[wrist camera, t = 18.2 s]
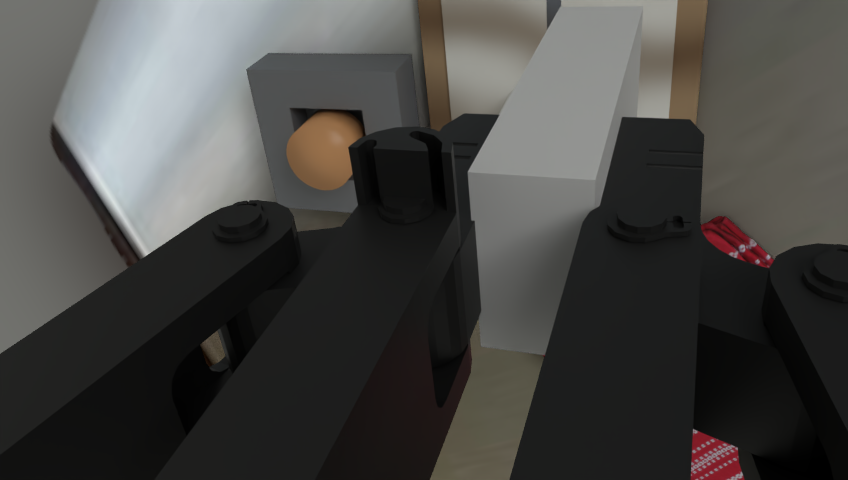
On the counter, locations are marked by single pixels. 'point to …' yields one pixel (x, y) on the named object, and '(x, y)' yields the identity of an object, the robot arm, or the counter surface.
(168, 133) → the counter surface
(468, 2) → the brown picture frame
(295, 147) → the button
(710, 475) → the dish towel
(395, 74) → the button housing
